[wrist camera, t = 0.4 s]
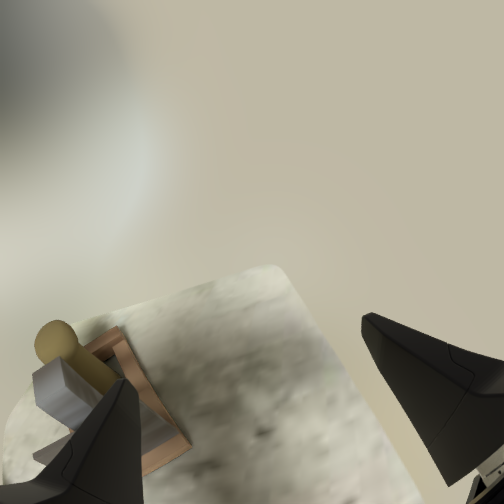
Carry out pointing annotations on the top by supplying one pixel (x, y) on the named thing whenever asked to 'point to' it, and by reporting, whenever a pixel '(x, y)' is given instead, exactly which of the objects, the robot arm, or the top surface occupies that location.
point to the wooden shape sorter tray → (86, 398)
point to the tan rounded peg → (73, 355)
